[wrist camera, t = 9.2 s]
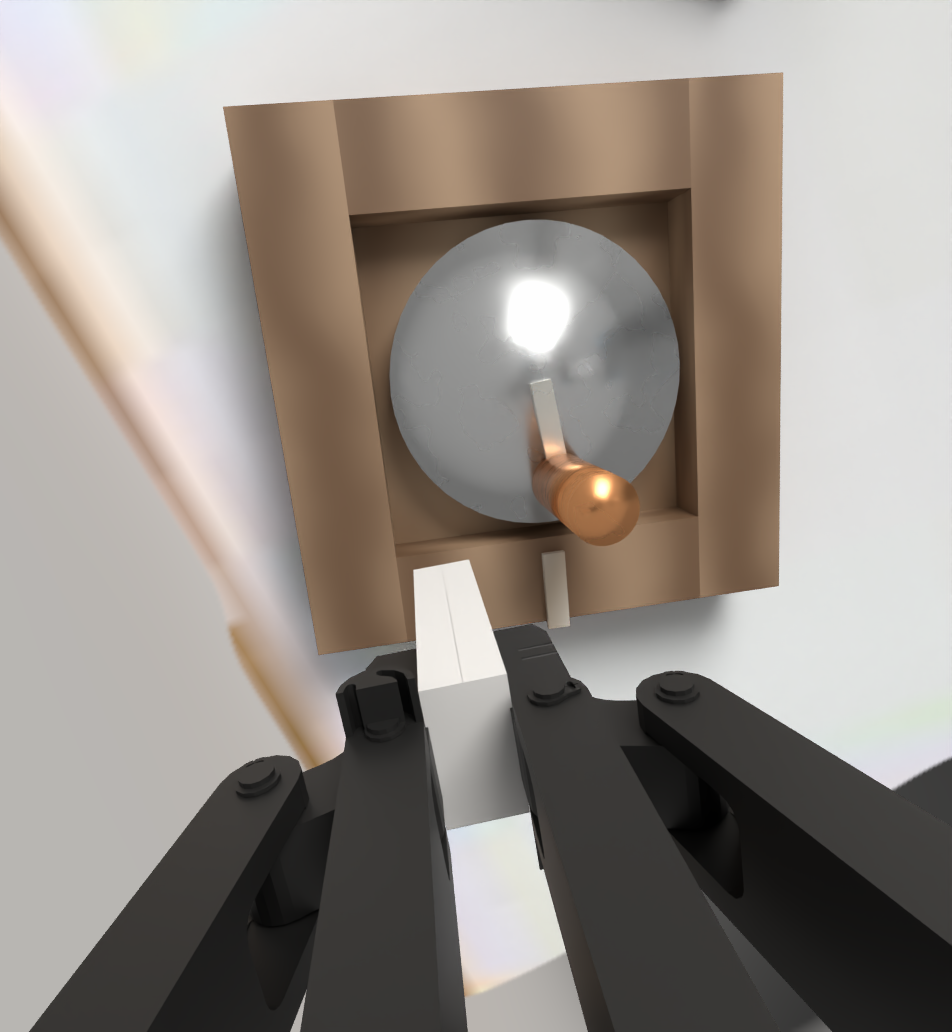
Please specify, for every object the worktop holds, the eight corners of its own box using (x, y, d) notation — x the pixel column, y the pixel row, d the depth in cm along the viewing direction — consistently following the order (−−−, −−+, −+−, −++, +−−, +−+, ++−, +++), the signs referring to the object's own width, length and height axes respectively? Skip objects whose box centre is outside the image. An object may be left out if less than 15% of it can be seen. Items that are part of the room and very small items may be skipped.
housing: (728, 114, 30) (787, 69, 25) (732, 565, 35) (782, 593, 31) (247, 146, 28) (220, 103, 23) (328, 624, 33) (318, 664, 28)
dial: (355, 266, 27) (341, 225, 19) (635, 201, 28) (729, 136, 20) (429, 543, 30) (443, 602, 22) (680, 475, 31) (776, 510, 23)
